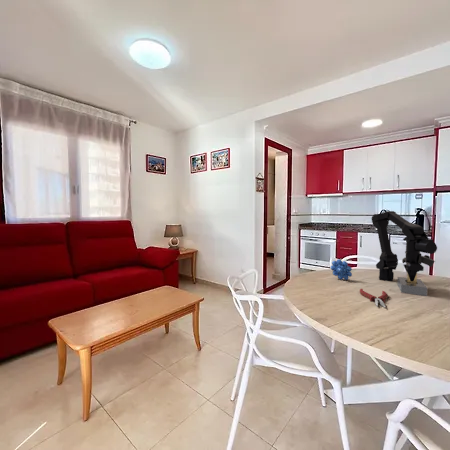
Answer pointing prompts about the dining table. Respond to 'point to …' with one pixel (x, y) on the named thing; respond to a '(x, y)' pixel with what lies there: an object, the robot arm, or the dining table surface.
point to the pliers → (373, 298)
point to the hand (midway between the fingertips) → (411, 280)
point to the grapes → (341, 269)
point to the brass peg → (411, 281)
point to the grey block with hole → (412, 287)
